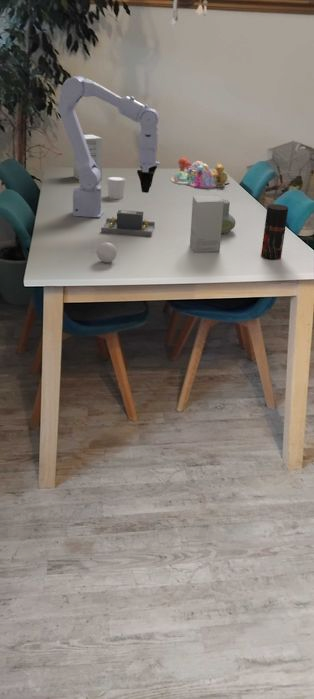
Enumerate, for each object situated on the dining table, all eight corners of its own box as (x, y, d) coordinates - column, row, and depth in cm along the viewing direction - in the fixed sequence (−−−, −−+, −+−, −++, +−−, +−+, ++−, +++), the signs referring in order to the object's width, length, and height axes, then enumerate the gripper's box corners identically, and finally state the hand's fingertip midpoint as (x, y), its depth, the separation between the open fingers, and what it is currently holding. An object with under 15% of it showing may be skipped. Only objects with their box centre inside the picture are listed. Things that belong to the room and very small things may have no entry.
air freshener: (204, 235, 208) (207, 204, 203) (199, 227, 215) (201, 197, 211) (237, 235, 210) (240, 204, 205) (230, 227, 217) (233, 197, 212)
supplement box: (102, 179, 268) (103, 138, 260) (82, 181, 264) (82, 138, 256) (92, 174, 275) (92, 134, 268) (72, 176, 271) (72, 134, 263)
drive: (116, 228, 207) (117, 213, 205) (118, 225, 211) (118, 209, 208) (141, 230, 207) (142, 214, 204) (142, 226, 210) (143, 211, 208)
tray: (101, 232, 204) (101, 224, 203) (106, 222, 214) (106, 215, 213) (151, 236, 204) (151, 228, 202) (154, 226, 213) (154, 218, 212)
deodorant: (280, 261, 189) (288, 210, 182) (260, 258, 190) (267, 208, 183) (281, 254, 194) (288, 205, 187) (261, 252, 195) (268, 203, 188)
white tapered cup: (128, 198, 244) (128, 179, 241) (112, 200, 241) (113, 181, 237) (118, 193, 249) (119, 175, 246) (103, 195, 246) (103, 177, 242)
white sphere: (115, 258, 184) (116, 239, 181) (117, 265, 179) (117, 246, 176) (88, 258, 183) (89, 239, 180) (89, 265, 178) (89, 245, 175)
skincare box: (214, 245, 199) (219, 195, 191) (220, 252, 193) (225, 201, 186) (188, 245, 197) (192, 195, 190) (193, 253, 191) (197, 201, 184)
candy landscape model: (227, 178, 285) (229, 156, 280) (231, 191, 264) (233, 168, 260) (170, 174, 285) (172, 153, 281) (170, 187, 264) (171, 164, 260)
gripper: (158, 152, 203) (156, 195, 210) (162, 144, 216) (160, 185, 223) (136, 151, 204) (134, 194, 210) (141, 143, 217) (139, 184, 223)
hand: (146, 189), depth 216 cm, fingers open, 7 cm apart
